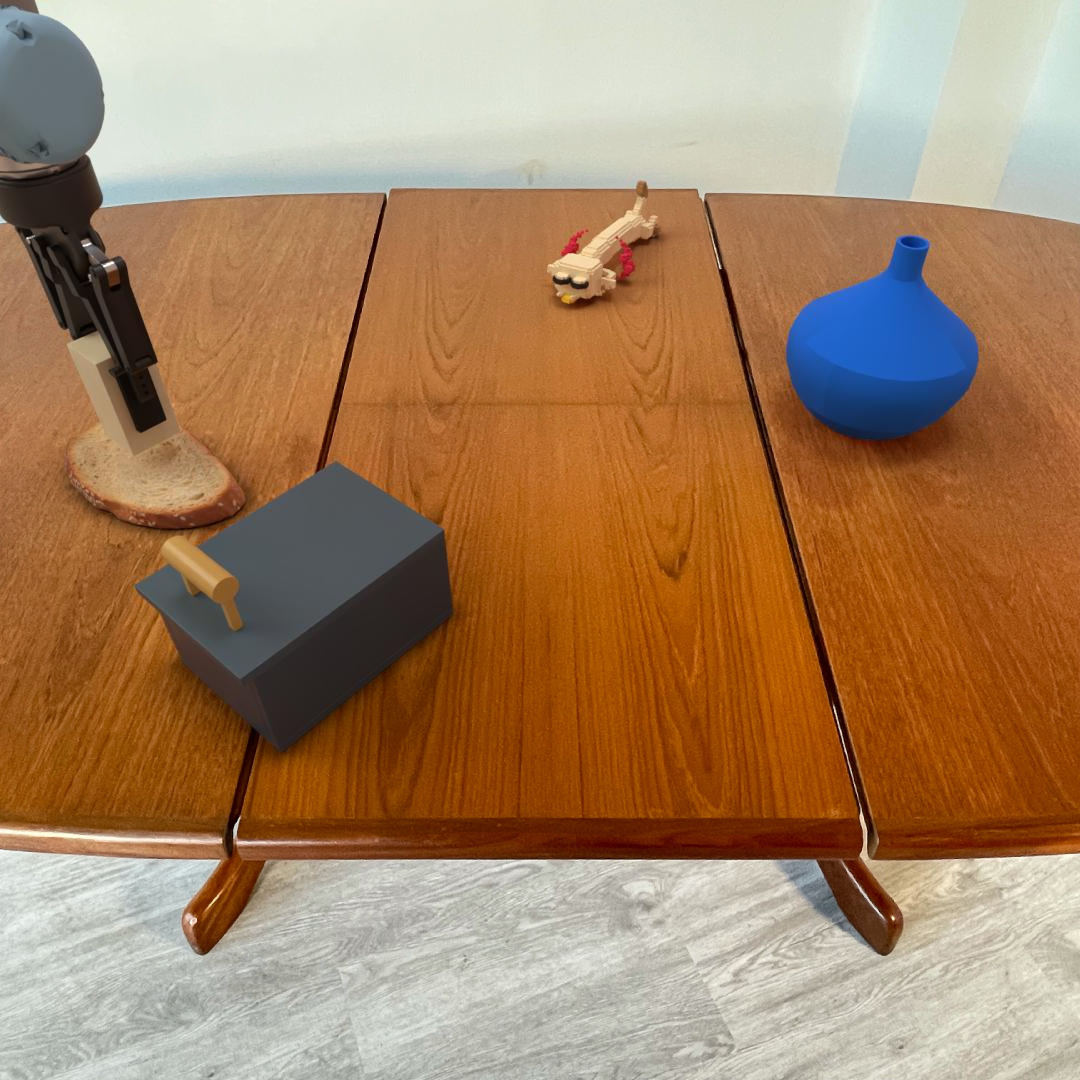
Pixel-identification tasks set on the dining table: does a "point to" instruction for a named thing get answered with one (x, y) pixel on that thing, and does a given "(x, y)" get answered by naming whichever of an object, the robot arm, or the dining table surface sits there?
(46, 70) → the robot arm
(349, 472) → the chest lid
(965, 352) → the vase
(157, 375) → the block
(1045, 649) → the dining table surface
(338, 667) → the chest
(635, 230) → the cream long figure
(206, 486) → the bread slice
